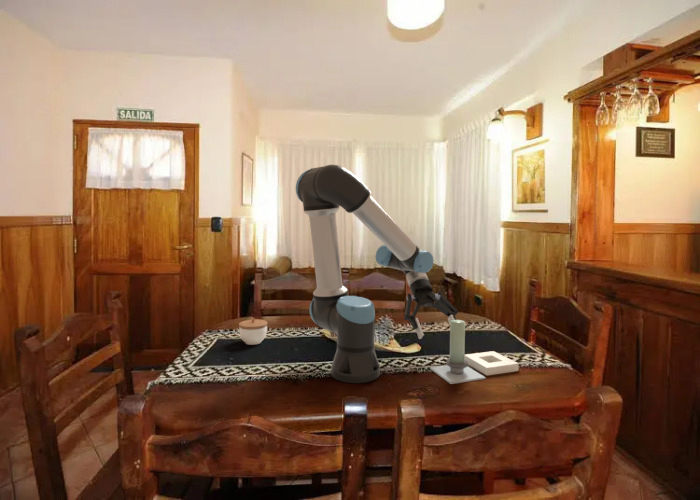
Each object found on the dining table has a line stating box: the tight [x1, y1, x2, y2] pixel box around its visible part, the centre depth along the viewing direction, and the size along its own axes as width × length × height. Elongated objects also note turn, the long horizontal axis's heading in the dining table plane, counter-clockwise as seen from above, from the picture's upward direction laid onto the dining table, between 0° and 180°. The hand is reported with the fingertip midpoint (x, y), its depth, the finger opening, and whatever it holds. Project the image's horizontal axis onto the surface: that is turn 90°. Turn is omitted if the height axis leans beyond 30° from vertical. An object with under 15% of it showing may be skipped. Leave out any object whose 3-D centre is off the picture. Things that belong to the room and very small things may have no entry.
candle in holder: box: [445, 319, 469, 375], centre depth 120 cm, size 6×6×16 cm
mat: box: [429, 364, 486, 385], centre depth 121 cm, size 12×12×1 cm
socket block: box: [464, 350, 519, 376], centre depth 127 cm, size 12×12×2 cm
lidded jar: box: [238, 318, 268, 346], centre depth 150 cm, size 11×11×9 cm
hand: (439, 335), depth 130 cm, fingers open, 13 cm apart
